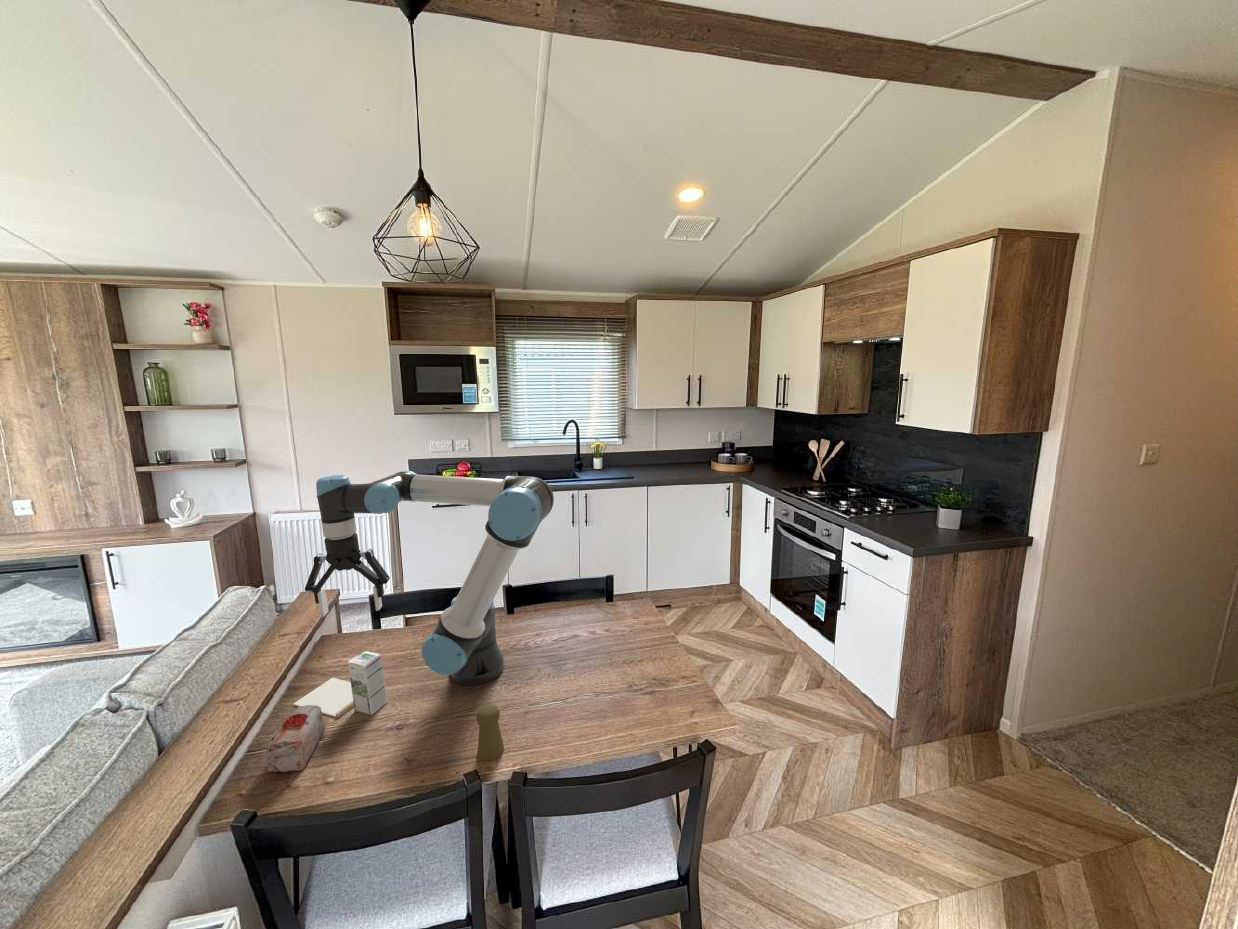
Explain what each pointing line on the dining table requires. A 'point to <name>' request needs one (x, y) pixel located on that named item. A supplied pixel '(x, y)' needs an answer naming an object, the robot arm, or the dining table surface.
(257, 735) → the dining table surface
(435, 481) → the robot arm
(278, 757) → the food item
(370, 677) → the syrup box
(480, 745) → the olive green shaker
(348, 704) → the trivet
